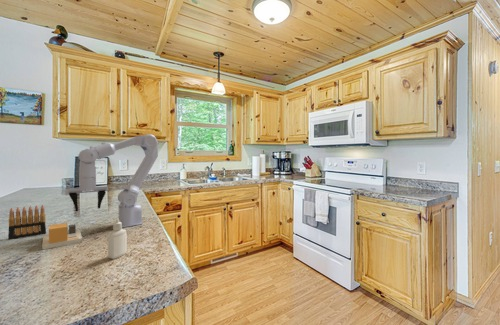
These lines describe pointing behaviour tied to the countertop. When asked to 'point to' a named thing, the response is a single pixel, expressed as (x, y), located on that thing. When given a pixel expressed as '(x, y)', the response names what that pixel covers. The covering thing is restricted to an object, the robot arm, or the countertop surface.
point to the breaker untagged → (72, 229)
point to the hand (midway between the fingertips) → (88, 209)
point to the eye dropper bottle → (117, 241)
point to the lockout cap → (57, 233)
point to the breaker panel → (72, 239)
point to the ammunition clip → (29, 228)
